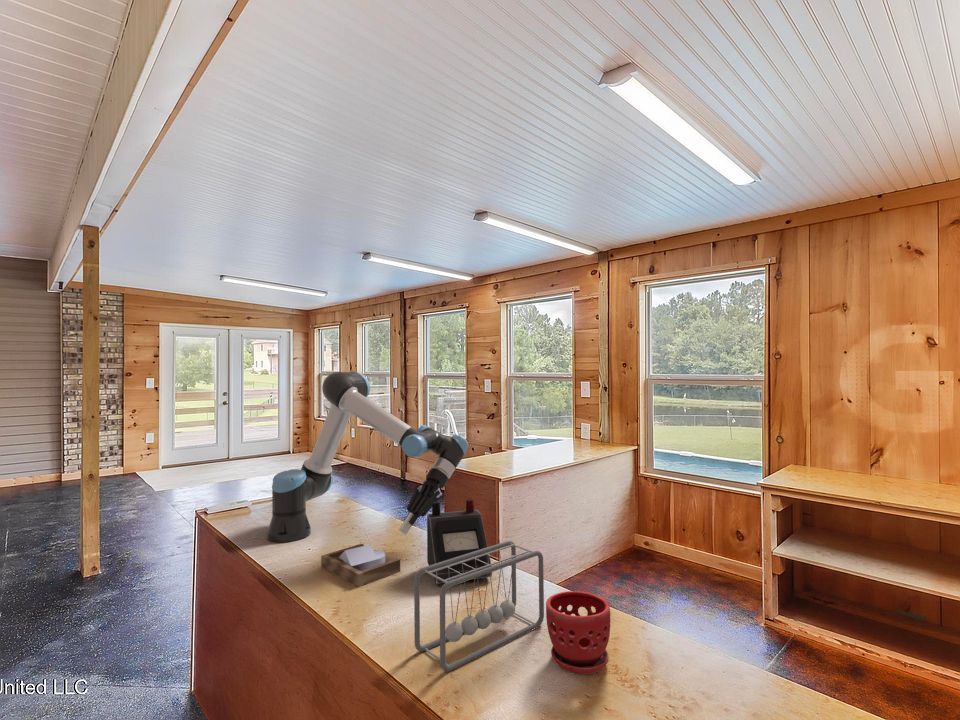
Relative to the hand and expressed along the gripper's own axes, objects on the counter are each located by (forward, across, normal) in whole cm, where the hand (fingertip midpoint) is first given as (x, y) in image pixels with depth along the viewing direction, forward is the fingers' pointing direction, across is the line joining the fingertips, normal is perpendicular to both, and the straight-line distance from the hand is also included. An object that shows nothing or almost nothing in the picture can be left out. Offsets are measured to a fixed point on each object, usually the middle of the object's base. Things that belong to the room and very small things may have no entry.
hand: (402, 531), depth 161 cm
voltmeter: (+4, -25, -7) cm, 26 cm away
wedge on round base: (+16, 0, +5) cm, 16 cm away
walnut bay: (+16, 0, +6) cm, 17 cm away
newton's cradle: (+19, -55, +8) cm, 58 cm away
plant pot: (+14, -75, +3) cm, 76 cm away
